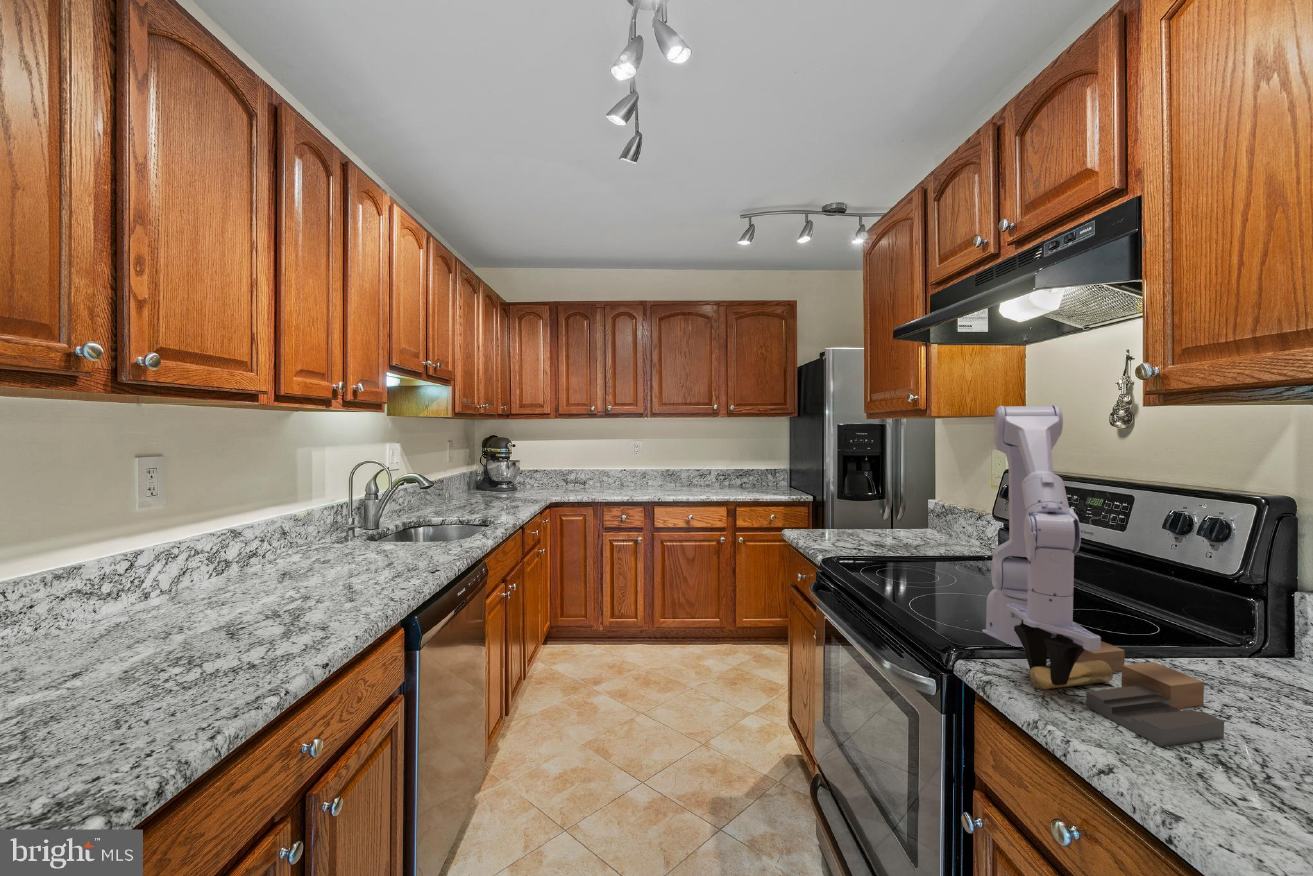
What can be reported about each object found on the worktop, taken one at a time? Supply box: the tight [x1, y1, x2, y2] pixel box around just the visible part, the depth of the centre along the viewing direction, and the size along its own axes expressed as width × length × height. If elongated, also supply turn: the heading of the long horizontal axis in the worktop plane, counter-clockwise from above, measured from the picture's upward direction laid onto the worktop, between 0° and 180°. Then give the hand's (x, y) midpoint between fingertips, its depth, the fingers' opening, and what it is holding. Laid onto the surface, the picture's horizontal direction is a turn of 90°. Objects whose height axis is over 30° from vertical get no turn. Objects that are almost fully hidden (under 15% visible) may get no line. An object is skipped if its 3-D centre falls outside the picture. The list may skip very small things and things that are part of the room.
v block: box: [1085, 685, 1225, 748], centre depth 76 cm, size 10×10×2 cm
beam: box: [1076, 640, 1205, 709], centre depth 88 cm, size 18×6×3 cm, turn 11°
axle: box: [1029, 660, 1114, 690], centre depth 86 cm, size 12×3×3 cm, turn 101°
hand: (1048, 678), depth 85 cm, fingers closed on axle, 3 cm apart
